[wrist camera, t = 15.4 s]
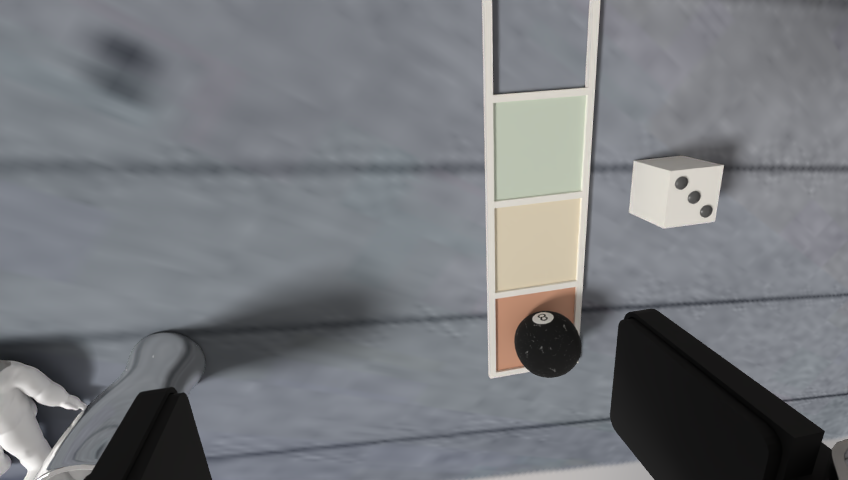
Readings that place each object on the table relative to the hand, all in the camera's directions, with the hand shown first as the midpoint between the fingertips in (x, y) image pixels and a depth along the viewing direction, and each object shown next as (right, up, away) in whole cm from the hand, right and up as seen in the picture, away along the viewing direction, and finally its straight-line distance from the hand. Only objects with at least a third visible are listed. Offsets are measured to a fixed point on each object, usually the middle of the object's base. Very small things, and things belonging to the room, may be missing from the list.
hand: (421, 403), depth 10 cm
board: (+10, +7, +32) cm, 35 cm away
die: (+22, +9, +34) cm, 42 cm away
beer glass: (-22, -7, +31) cm, 39 cm away
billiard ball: (+11, -5, +37) cm, 39 cm away
